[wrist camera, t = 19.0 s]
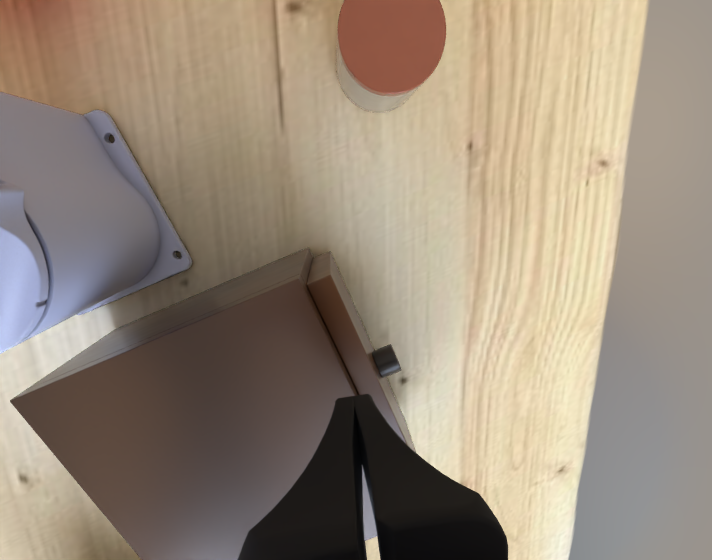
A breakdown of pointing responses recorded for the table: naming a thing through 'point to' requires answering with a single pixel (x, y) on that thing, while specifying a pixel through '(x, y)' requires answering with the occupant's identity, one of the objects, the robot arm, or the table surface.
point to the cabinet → (198, 413)
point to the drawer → (356, 342)
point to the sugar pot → (387, 49)
